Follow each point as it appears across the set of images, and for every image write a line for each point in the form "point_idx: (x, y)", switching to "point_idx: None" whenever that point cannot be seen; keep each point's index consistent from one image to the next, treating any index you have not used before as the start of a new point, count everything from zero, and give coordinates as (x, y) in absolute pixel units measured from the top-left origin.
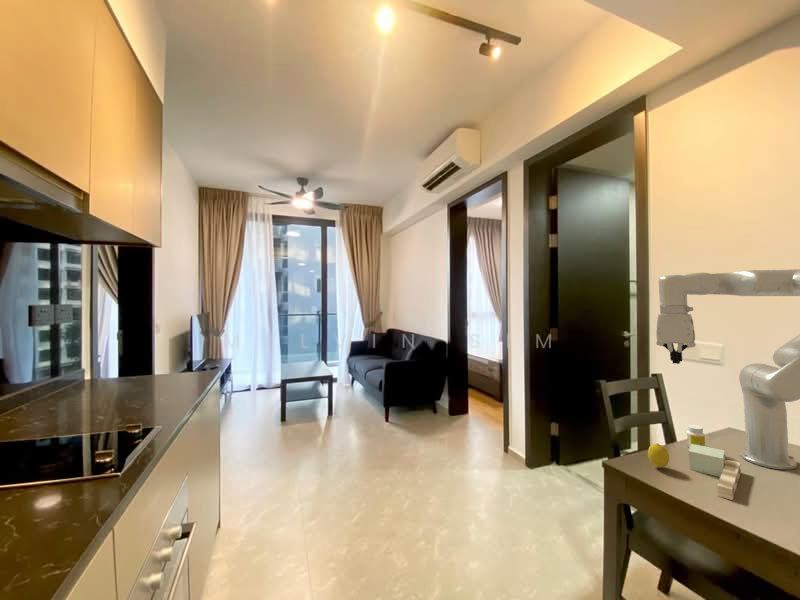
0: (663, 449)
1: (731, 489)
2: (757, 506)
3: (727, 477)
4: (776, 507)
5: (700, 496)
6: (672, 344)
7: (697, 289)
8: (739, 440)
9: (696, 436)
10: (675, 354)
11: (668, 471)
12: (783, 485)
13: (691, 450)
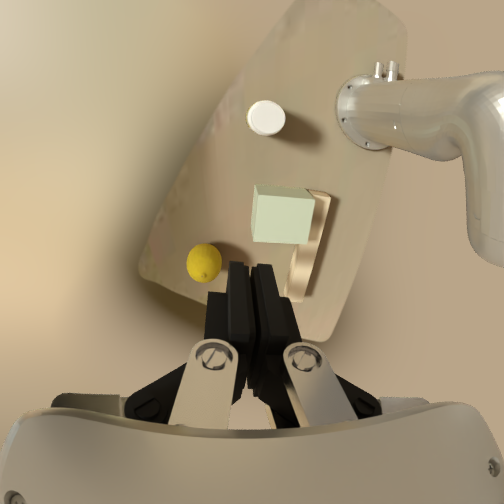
0: (213, 277)
1: (301, 301)
2: (321, 290)
3: (302, 269)
4: (340, 280)
5: None
6: (219, 423)
7: None
8: (338, 22)
9: (268, 135)
10: (248, 378)
11: (221, 254)
12: (368, 208)
13: (258, 235)
